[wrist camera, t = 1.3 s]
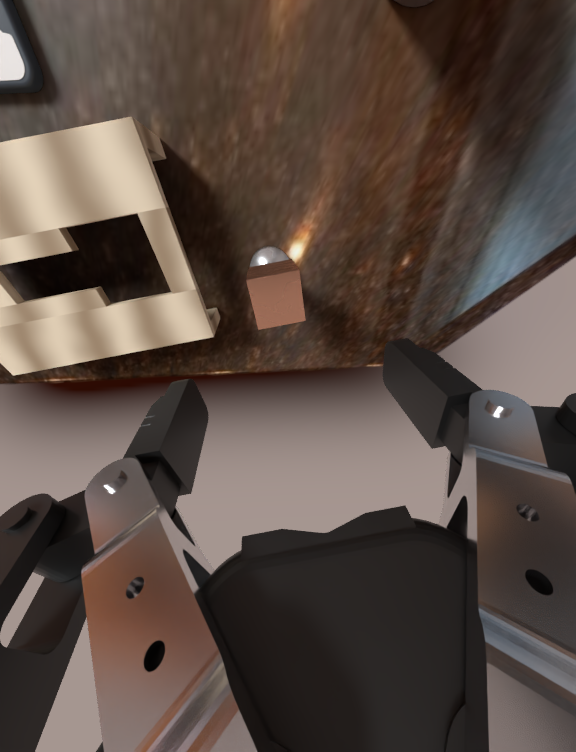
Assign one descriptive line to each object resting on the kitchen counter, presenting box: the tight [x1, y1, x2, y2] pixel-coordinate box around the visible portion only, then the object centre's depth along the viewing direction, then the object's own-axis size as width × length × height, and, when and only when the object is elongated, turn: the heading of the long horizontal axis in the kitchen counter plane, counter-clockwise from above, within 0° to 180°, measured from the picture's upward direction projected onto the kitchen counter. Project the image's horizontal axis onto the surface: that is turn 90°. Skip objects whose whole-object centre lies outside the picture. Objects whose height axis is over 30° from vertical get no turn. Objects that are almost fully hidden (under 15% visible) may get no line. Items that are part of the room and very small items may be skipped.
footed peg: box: [246, 246, 305, 330], centre depth 24 cm, size 5×5×14 cm
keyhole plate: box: [0, 117, 220, 375], centre depth 25 cm, size 24×18×6 cm
